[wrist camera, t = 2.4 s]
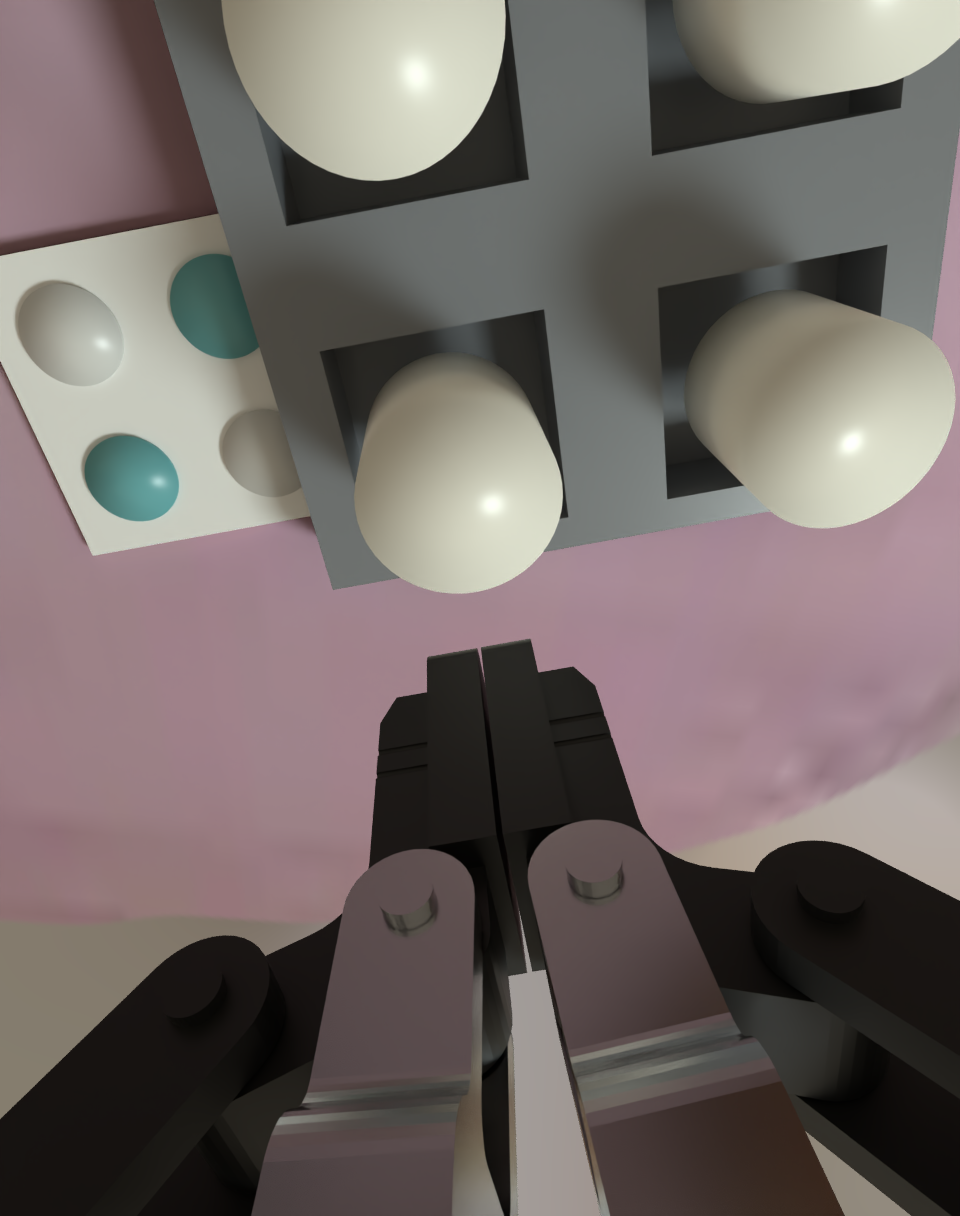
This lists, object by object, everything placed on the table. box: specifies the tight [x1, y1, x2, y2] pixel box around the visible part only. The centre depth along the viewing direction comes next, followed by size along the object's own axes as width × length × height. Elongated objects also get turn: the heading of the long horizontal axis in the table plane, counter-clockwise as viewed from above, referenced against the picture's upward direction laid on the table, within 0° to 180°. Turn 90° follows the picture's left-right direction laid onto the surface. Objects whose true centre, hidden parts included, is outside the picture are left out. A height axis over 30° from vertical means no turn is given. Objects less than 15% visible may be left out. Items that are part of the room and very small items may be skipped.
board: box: [154, 0, 960, 590], centre depth 21 cm, size 18×17×3 cm
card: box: [0, 214, 310, 556], centre depth 23 cm, size 9×9×1 cm
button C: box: [354, 352, 563, 593], centre depth 20 cm, size 5×5×5 cm
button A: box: [221, 0, 506, 181], centre depth 15 cm, size 5×5×5 cm
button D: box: [684, 289, 955, 528], centre depth 19 cm, size 5×5×5 cm
